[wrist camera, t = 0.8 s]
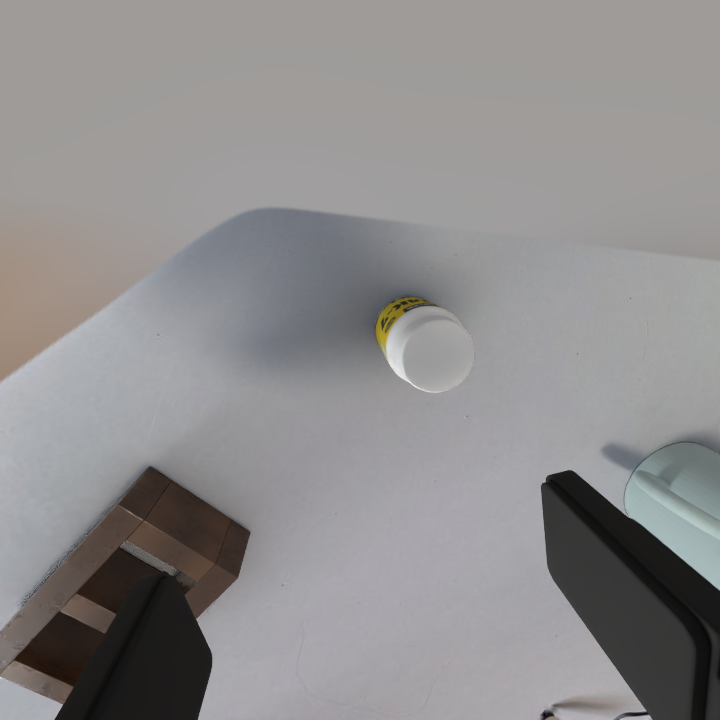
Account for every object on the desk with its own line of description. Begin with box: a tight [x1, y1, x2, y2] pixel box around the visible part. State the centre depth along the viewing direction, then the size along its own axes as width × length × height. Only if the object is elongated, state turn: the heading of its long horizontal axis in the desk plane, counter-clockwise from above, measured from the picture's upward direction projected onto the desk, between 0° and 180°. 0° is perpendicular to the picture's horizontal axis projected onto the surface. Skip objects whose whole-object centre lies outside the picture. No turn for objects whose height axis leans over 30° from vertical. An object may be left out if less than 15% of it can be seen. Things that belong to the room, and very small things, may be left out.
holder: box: [0, 467, 250, 704], centre depth 28 cm, size 10×18×4 cm, turn 136°
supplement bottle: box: [374, 296, 475, 393], centre depth 22 cm, size 5×5×8 cm
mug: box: [624, 442, 720, 590], centre depth 28 cm, size 14×9×10 cm
